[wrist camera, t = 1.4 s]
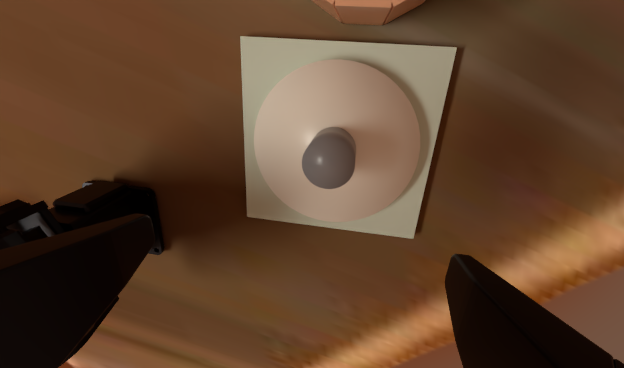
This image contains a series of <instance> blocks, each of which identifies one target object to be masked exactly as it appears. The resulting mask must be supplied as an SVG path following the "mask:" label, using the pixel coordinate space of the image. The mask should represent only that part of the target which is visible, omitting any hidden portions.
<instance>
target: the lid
mask: <svg viewBox="0 0 624 368" xmlns="http://www.w3.org/2000/svg"><path fill="white" fill-rule="evenodd" d="M254 150H255V156H256V160H257V164H258V166H259V169H260V172H261V174H262V176H263V178H264V180H265V181H266V183H267V184H268V186H269V187H270V189H271V190H272V191H273V192H274V194H275V195H276V196H277V197H278V198H279V199H280V200H281V201H282V202H284V203H285V204H286V205H288V206H289V207H290V208H292V209H294V210H295V211H297V212H299V213H301V214H303V215H305V216H308V217H311V218H314V219H317V220H322V221H327V222H348V221H354V220H359V219H362V218H366V217H368V216H371V215H373V214H375V213H377V212H379V211H381V210H382V209H384V208H386V207H387V206H388V205H390V204H391V203H392V202H393V201H394V200H395V199H396V198H397V197H398V196H399V195H400V194H401V193H402V192H403V191H404V189H405V188H406V187H407V185H408V183H409V182H410V180H411V178H412V176H413V174H414V172H415V169H416V166H417V163H418V159H419V153H420V130H419V124H418V121H417V117H416V114H415V111H414V109H413V107H412V105H411V103H410V101H409V100H408V98H407V97H406V95H405V94H404V92H403V91H402V90H401V89H400V88H399V87H398V85H397V84H396V83H395V82H393V81H392V80H391V79H390V78H389V77H388V76H386V75H385V74H383V73H382V72H380V71H378V70H377V69H375V68H372V67H370V66H368V65H366V64H362V63H359V62H355V61H350V60H342V59H330V60H323V61H317V62H313V63H310V64H307V65H304V66H302V67H300V68H298V69H296V70H294V71H293V72H291V73H290V74H288V75H286V76H285V77H284V78H283V79H282V80H281V81H279V82H278V83H277V84H276V85H275V86H274V88H273V89H272V90H271V91H270V92H269V94H268V95H267V97H266V98H265V100H264V102H263V104H262V106H261V108H260V110H259V113H258V116H257V119H256V124H255V130H254Z"/></svg>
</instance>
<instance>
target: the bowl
mask: <svg viewBox="0 0 624 368" xmlns="http://www.w3.org/2000/svg"><path fill="white" fill-rule="evenodd" d="M311 1H313V2H314V3H315V4H317V5H318V6H319V7H321V8H322V9H323V10H325V11H326V12H327V13H329V14H330V15H331V16H333V17H334V18H335V19H337V20H338V21H340V22H341V23H342V22H343V24H362V25H382V24H384V25H385V24H386V23H388V22H390V21H392V20H394V19H395V18H397V17H399V16H401V15H403V14H404V13H406V12H408V11H410V10H412V9H413V8H415V7H417V6H419V5H421V4H422V3H423V2H425V1H426V0H311Z"/></svg>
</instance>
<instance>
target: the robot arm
mask: <svg viewBox="0 0 624 368" xmlns="http://www.w3.org/2000/svg"><path fill="white" fill-rule="evenodd" d="M147 194H148V195H149V196H148V195H147ZM53 206H54V207H53V208H51V209H49V210H48V206H47V204H46V203H45V202H44V200H43V201H41V202H38V203H36V204H34V205H30V203H25V202H23V201H21V200H15V201H13V202H10V203H8V204H5V205H3V206H0V368H58V367H59V366H61V365H62V364H63V363H65V362H66V361H67V360H68V359H70V358H71V357H72V356H73V355H74V354H75V353H77V352H78V351H79V350H80V349H81V348H82V347H83V346H84V344H85V343H86V342H87V341H88V340H89V338H90V337H91V336H92V334H93V333H94V332H95V330H96V329H97V328H98V326H99V325H100V324H101V322H102V321H103V320H104V318H105V317H106V316H107V314H108V313H109V312H110V310H111V309H112V308H113V306H114V305H115V304H116V302H117V301H118V300H119V297H118V295H119V293H120V292H121V291H122V289H123V288H124V287H125V286H126V284H127V283H128V281H129V280H130V279H131V277H132V276H133V274H134V273H135V271H136V270H137V268H138V267H139V265H140V264H141V262H142V261H143V260H144V258H145V257H146V255H147V254H148V253H149V254H155V255H160V254H161V253H162V252H163V251H164V244H163V238H162V232H161V226H160V221H159V215H158V209H157V204H156V198H155V193H154V191H153V190H151V189H149V188H143V187H135V186H128V185H126V184H124V183H116V182H108V181H97V182H95V181H87V182H85V183H83V185H82V188H81V189H79V190H76V191H74V192H72V193H70V194H67V195H65V196H63V197H61V198H58V199H56V200H55V201H54V202H53ZM157 248H158V249H159V250H158V249H157ZM445 288H446V293H447V299H448V304H449V310H450V315H451V321H452V326H453V332H454V336H455V341H456V344H457V348H458V352H459V355H460V358H461V361H462V365H463V368H624V364H623V363H622V362H620V361H619V360H617V359H614V360H613V357H612V356H611V355H610V354H609V353H607V352H606V351H604V350H603V349H602V348H600V347H599V346H597V345H596V344H594V343H593V342H592V341H590V340H589V339H587V338H586V337H585V336H583V335H582V334H580V333H579V332H577V331H576V330H575V329H573V328H572V327H571V326H569V325H568V324H566V323H565V322H563V321H562V320H561V319H559V318H558V317H556V316H555V315H553V314H552V313H550V312H549V311H548V310H546V309H545V308H544V307H542V306H541V305H539V304H538V303H536V302H535V301H534V300H532V299H531V298H529V297H528V296H527V295H525V294H524V293H522V292H521V291H519V290H518V289H517V288H515V287H514V286H512V285H511V284H509V283H508V282H507V281H505V280H504V279H502V278H501V277H500V276H498V275H497V274H495V273H494V272H492V271H491V270H490V269H488V268H487V267H485V266H484V265H483V264H481V263H480V262H478V261H477V260H475V259H474V258H473V257H471V256H469V255H462V254H454V255H452V257H451V260H450V263H449V267H448V270H447V274H446V278H445Z"/></svg>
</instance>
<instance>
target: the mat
mask: <svg viewBox="0 0 624 368" xmlns="http://www.w3.org/2000/svg"><path fill="white" fill-rule="evenodd" d="M240 40H241V67H242V94H243V120H244V147H245V174H246V201H247V217H252V218H260V219H267V220H275V221H282V222H290V223H298V224H305V225H313V226H320V227H328V228H335V229H343V230H350V231H358V232H365V233H373V234H380V235H388V236H395V237H403V238H410V239H413V238H414V234H415V229H416V225H417V221H418V216H419V212H420V207H421V203H422V199H423V194H424V190H425V186H426V181H427V177H428V173H429V168H430V164H431V159H432V155H433V151H434V146H435V142H436V138H437V133H438V129H439V124H440V120H441V116H442V111H443V107H444V103H445V98H446V94H447V89H448V85H449V81H450V76H451V72H452V68H453V63H454V59H455V54H456V50H457V47H442V46H422V45H403V44H383V43H364V42H344V41H325V40H305V39H286V38H266V37H246V36H240ZM330 59H342V60H350V61H355V62H359V63H362V64H366V65H368V66H370V67H372V68H375V69H377V70H378V71H380V72H382V73H383V74H385V75H386V76H388V77H389V78H390V79H391V80H392V81H393V82H395V83H396V84H397V85H398V87H399V88H400V89H401V90H402V91H403V92H404V94H405V95H406V97H407V98H408V100H409V101H410V103H411V105H412V107H413V109H414V111H415V114H416V117H417V121H418V124H419V130H420V153H419V159H418V163H417V166H416V169H415V172H414V174H413V176H412V178H411V180H410V182H409V183H408V185H407V187H406V188H405V189H404V191H403V192H402V193H401V194H400V195H399V196H398V197H397V198H396V199H395V200H394V201H393V202H392V203H391V204H390V205H388V206H387V207H386V208H384V209H382V210H381V211H379V212H377V213H375V214H373V215H371V216H368V217H366V218H362V219H359V220H354V221H348V222H327V221H322V220H317V219H314V218H311V217H308V216H305V215H303V214H301V213H299V212H297V211H295V210H294V209H292V208H290V207H289V206H288V205H286V204H285V203H284V202H282V201H281V200H280V199H279V198H278V197H277V196H276V195H275V194H274V192H273V191H272V190H271V189H270V187H269V186H268V184H267V183H266V181H265V180H264V178H263V176H262V174H261V172H260V169H259V166H258V164H257V160H256V156H255V150H254V130H255V124H256V119H257V116H258V113H259V110H260V108H261V106H262V104H263V102H264V100H265V98H266V97H267V95H268V94H269V92H270V91H271V90H272V89H273V88H274V86H275V85H276V84H277V83H278V82H279V81H281V80H282V79H283V78H284V77H285V76H286V75H288V74H290V73H291V72H293V71H294V70H296V69H298V68H300V67H302V66H304V65H307V64H310V63H313V62H317V61H323V60H330Z"/></svg>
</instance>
